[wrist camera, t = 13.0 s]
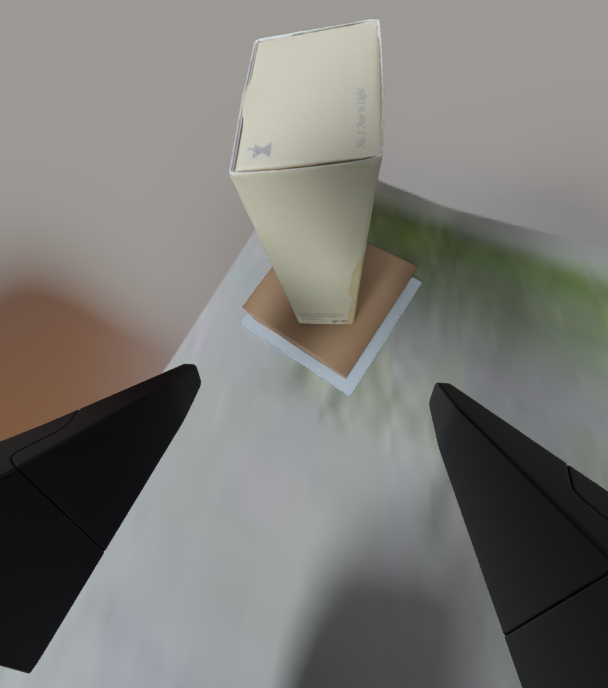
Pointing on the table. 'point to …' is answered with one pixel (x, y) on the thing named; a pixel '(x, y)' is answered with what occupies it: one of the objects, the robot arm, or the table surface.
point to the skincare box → (313, 160)
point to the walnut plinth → (335, 339)
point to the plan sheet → (364, 360)
